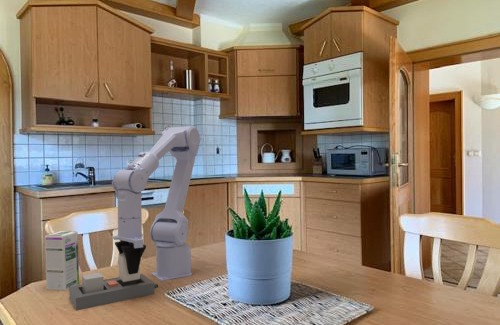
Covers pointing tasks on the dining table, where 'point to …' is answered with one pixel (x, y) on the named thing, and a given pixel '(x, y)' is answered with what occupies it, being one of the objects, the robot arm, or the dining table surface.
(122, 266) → the plug
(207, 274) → the dining table surface
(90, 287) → the strip
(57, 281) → the syrup box
